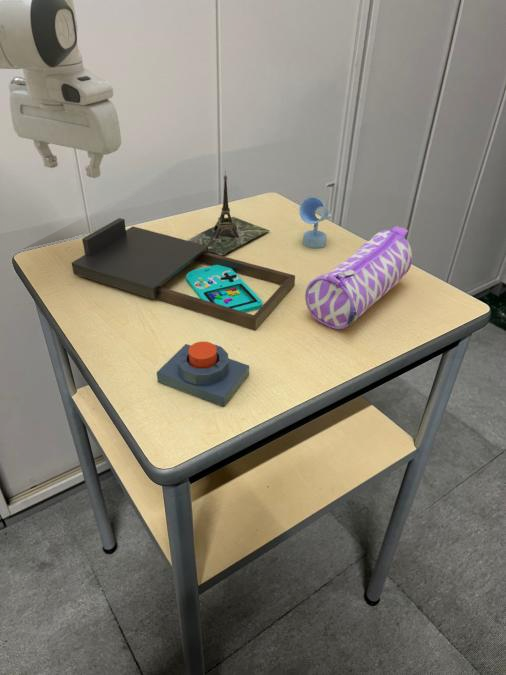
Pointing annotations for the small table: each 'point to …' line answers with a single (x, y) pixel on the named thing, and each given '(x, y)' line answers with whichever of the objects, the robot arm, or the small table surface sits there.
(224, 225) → the eiffel tower figurine
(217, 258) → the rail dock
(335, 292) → the pencil case
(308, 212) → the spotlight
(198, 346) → the button
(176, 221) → the small table surface
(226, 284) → the handheld gaming console
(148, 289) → the lid
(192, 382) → the button block
